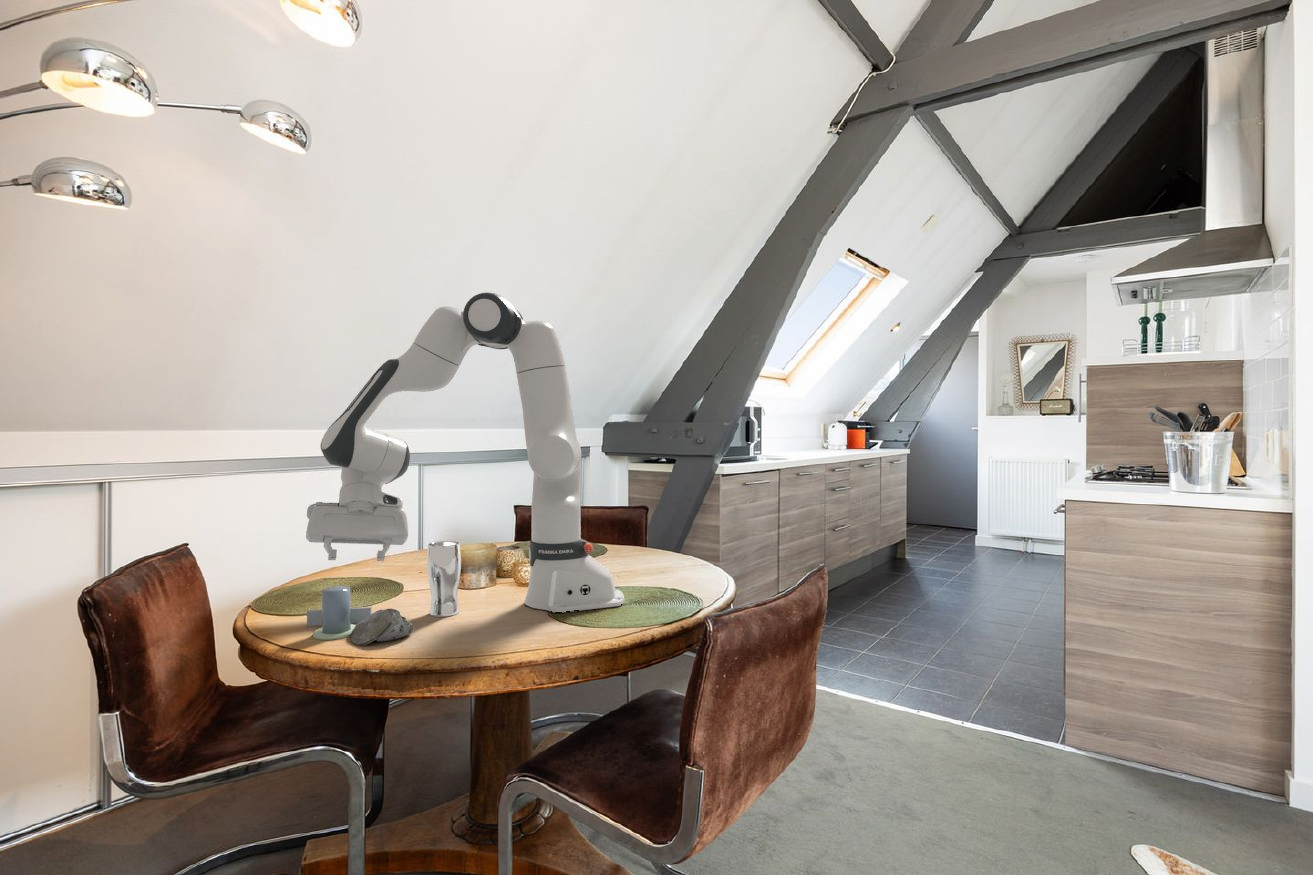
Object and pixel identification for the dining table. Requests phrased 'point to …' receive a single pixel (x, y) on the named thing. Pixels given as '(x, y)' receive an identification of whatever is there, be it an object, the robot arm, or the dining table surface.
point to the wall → (356, 615)
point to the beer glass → (444, 577)
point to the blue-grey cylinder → (336, 610)
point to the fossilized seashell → (381, 627)
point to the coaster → (321, 636)
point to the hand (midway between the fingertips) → (356, 559)
